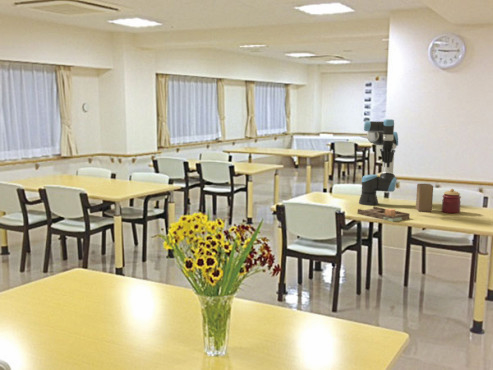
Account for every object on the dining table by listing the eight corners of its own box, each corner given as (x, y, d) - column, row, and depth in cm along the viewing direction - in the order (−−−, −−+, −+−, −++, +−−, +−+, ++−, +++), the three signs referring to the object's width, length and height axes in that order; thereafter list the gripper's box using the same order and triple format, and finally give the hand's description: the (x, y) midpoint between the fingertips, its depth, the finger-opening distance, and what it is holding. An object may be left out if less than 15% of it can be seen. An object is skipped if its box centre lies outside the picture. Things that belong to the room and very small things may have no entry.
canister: (447, 214, 389) (449, 190, 386) (438, 210, 402) (439, 187, 399) (463, 213, 391) (465, 189, 389) (453, 210, 404) (455, 187, 401)
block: (428, 209, 406) (430, 183, 403) (432, 212, 396) (433, 185, 393) (415, 209, 407) (416, 183, 404) (418, 211, 397) (419, 185, 394)
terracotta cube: (384, 216, 370) (385, 209, 369) (389, 215, 373) (389, 208, 372) (390, 217, 366) (390, 210, 365) (395, 216, 369) (395, 209, 368)
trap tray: (357, 213, 388) (357, 209, 388) (373, 211, 399) (374, 206, 398) (392, 221, 362) (392, 216, 362) (409, 218, 373) (409, 213, 372)
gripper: (377, 139, 398) (376, 171, 401) (391, 140, 387) (390, 172, 391) (384, 139, 402) (383, 170, 406) (398, 140, 392) (396, 172, 395)
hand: (386, 171), depth 398 cm, fingers closed
